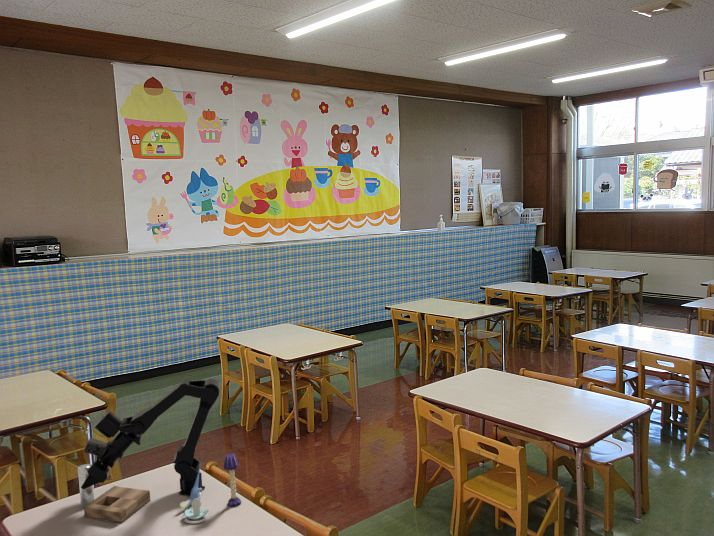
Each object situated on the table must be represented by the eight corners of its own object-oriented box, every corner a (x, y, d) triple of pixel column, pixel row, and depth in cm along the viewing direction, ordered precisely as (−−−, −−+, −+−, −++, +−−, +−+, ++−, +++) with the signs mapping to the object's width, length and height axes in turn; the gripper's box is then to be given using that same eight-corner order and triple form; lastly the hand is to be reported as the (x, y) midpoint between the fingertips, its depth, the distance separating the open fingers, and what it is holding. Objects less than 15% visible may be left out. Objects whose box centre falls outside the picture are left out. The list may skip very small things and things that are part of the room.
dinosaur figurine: (191, 511, 195) (178, 510, 186) (201, 464, 201) (188, 460, 192) (199, 512, 194) (186, 511, 186) (208, 465, 200) (196, 461, 192)
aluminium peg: (97, 502, 196) (93, 464, 194) (88, 508, 192) (84, 470, 190) (87, 500, 197) (83, 463, 195) (78, 506, 193) (74, 468, 192)
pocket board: (150, 500, 195) (149, 490, 195) (121, 523, 182) (120, 512, 182) (115, 495, 199) (114, 486, 199) (84, 517, 186) (83, 506, 186)
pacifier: (204, 525, 180) (210, 514, 186) (202, 506, 179) (209, 495, 185) (180, 525, 180) (187, 514, 186) (179, 506, 180) (186, 495, 185)
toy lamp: (237, 508, 189) (234, 458, 187) (223, 507, 190) (220, 457, 188) (243, 500, 193) (240, 451, 191) (229, 499, 194) (226, 451, 192)
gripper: (105, 420, 202) (73, 455, 201) (92, 442, 183) (57, 480, 183) (131, 440, 204) (99, 474, 203) (121, 463, 186) (86, 501, 185)
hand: (85, 481), depth 193 cm, fingers open, 9 cm apart
